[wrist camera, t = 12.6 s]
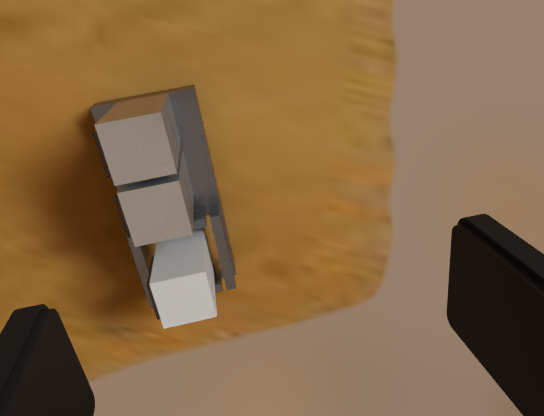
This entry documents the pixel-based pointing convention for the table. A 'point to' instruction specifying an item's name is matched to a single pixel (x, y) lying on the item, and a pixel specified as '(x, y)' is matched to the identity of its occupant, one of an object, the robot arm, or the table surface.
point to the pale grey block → (182, 280)
